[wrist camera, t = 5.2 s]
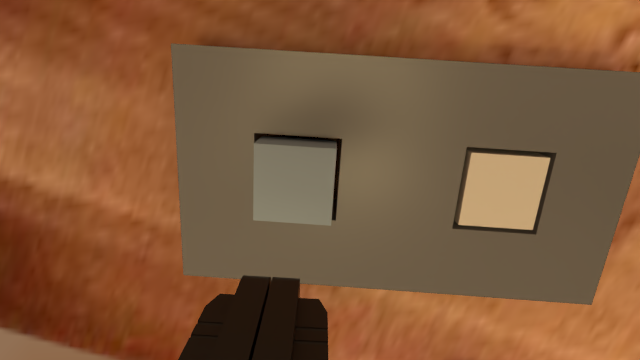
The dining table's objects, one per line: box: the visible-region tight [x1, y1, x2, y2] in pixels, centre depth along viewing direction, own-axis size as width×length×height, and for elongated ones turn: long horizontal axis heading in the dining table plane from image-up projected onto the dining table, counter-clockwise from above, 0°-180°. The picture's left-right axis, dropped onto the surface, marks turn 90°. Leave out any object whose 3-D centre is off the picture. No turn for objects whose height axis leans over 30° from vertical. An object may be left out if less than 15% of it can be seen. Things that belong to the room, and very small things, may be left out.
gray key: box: [253, 136, 337, 226], centre depth 21 cm, size 4×4×2 cm
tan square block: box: [454, 147, 550, 230], centre depth 22 cm, size 4×4×2 cm
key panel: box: [171, 44, 640, 305], centre depth 23 cm, size 26×14×4 cm, turn 87°
